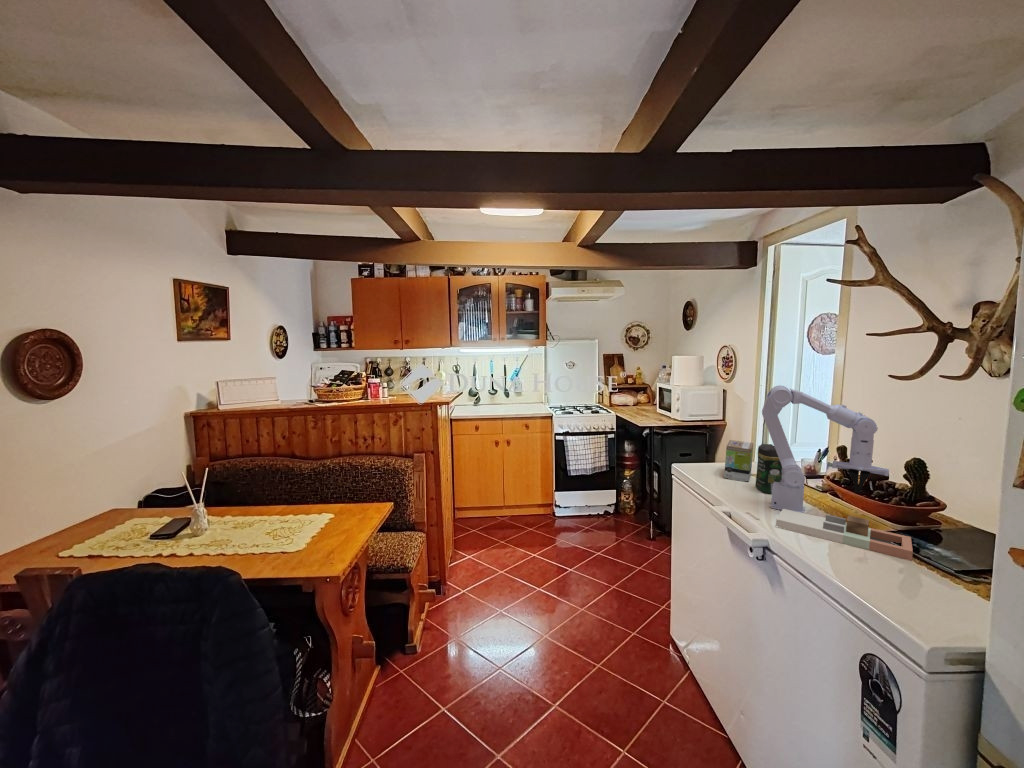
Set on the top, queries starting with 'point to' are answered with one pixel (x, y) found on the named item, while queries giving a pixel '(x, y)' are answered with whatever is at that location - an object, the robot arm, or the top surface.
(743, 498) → the top surface
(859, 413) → the robot arm
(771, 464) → the coffee jar
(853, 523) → the walnut block
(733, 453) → the tea box
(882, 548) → the board
